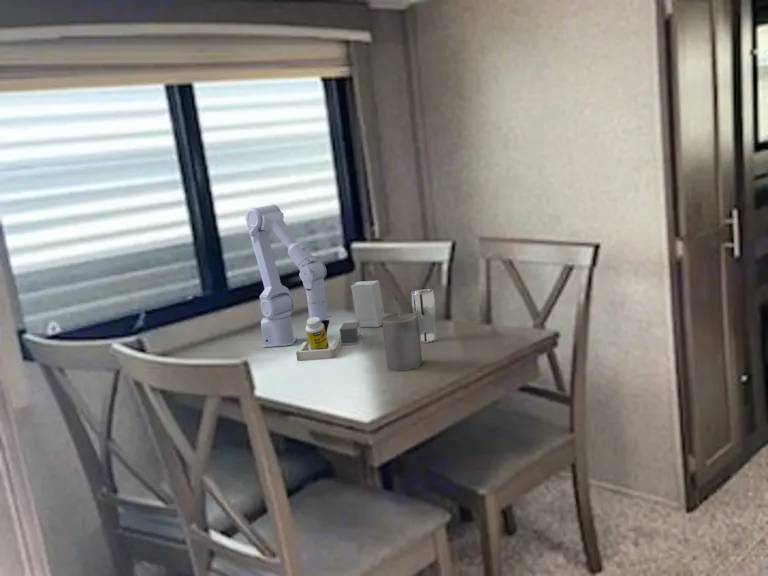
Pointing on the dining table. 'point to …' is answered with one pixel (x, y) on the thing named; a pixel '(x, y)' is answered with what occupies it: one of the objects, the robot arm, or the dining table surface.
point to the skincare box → (368, 303)
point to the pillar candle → (402, 341)
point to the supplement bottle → (316, 334)
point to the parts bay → (318, 352)
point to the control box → (350, 334)
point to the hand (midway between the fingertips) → (322, 344)
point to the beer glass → (425, 314)
